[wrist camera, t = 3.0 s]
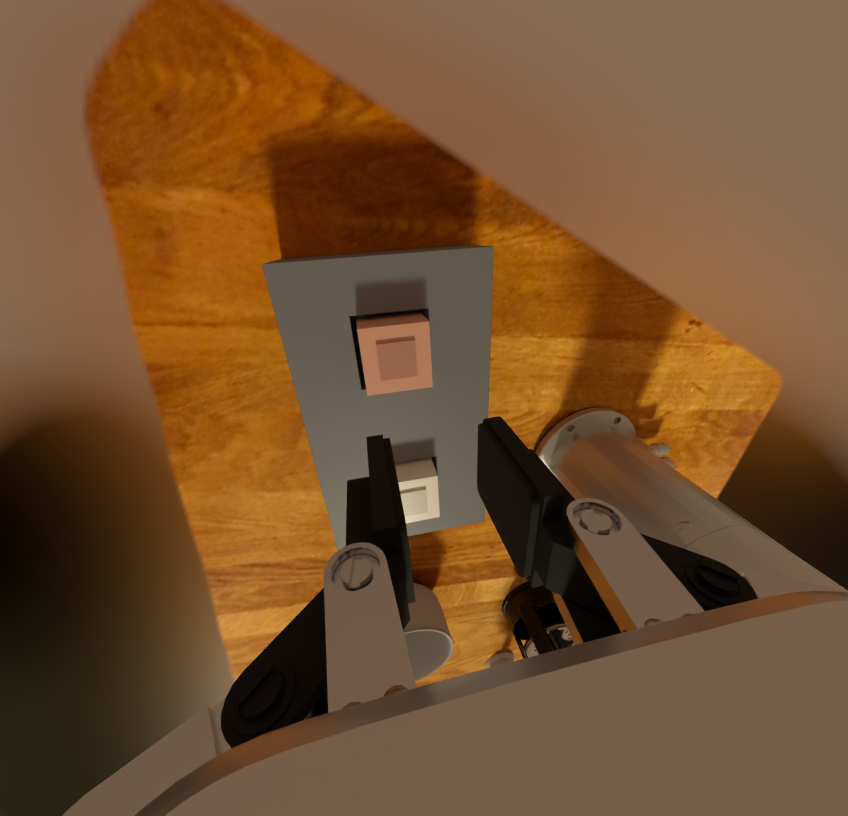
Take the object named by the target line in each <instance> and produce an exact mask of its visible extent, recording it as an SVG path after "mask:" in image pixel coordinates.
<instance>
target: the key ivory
mask: <svg viewBox="0 0 848 816" xmlns="http://www.w3.org/2000/svg"><path fill="white" fill-rule="evenodd" d="M395 468H396V473H397V478H398V484H399V489H400V494H401V499H402V505H403V510H404V515H405V521H406V523H411V522H416V521H421V520H427V519H432V518H437V517H440V512H439V493H438V476H437V473H436V470H435V467H434V465H433V462H432V459H431V457H428V458H422V459H416V460H410V461H404V462H398V463H395Z"/></svg>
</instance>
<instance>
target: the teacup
mask: <svg viewBox="0 0 848 816" xmlns="http://www.w3.org/2000/svg"><path fill="white" fill-rule="evenodd" d="M413 585H414V593H415V602H413V603H409V604H408V606H409V614H410V621H409V623H408V624H407V626H406V627H405V629H404V630H403V633H404V637H405V641H406V645H407V650H408V654H409V658H410V663H411V667H412V671H413V675H414V680H415V682H417V681H419V680H421V679H424V678H426V677H427V676H429V675H431V674H432V673H434V672H435V671H437V670H438V669H439V668H440V667H442V666H443V665H444V664H445V663H446V662H447V661H448V659H449V658H450V656H451V654H452V652H453V649H454V642H453V639H452V637H451V635H450V633H449V630H448V627H447V623H446V620H445V617H444V614H443V611H442V609H441V606H440V603H439V601H438V599H437V597H436V596H435V594H434V593H433V592H432V591H431V590H430V589H429V588H427V587H426V586H423V585H421V584H417V583H414V582H413Z"/></svg>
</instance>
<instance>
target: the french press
mask: <svg viewBox="0 0 848 816" xmlns="http://www.w3.org/2000/svg"><path fill="white" fill-rule="evenodd" d="M545 603H549V604H548V606H546V607H545V608H544V609H543V610H541V611H539V612H537V611H536V609H535V607H536V606H539V605H542V604H545ZM502 611H503V613H504V616H505V617H506V618H507V619H508V622H509V624H510V627H511V629H512V632H513V634H514V636H515V639H516V641H517V644H518V646H519V649H520V651H521V653H522V656H523V658H524V659H525V658H529V657H533V656H536V655H540V654H544V653H548V652H551V651H555V650H559V649H563V648H566V647H570V646H574V645H575V644H574V642H573V640H572V637H571V635H570V633H569V631H568V628H567V626H566V624H565V622H564V620H563V617H562V615H561V613H560V611H559V609H558V606H557V604H556V602H555V600H554V597H553V593H552V591H550V590H548V589H546V588H545V586H544V585H543V586H538V587H534V588H531V586H530V584H529V582H527V583H525V584H523V585H521V586H519V587H517V588H516V589H514V590H513V591H512V592H511V593H510V594H509V595H508V596H507V597H506V598H505V600H504V602H503V606H502ZM521 640H527V641H526V643H525V645H524V647H523V644H522V642H521Z"/></svg>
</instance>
